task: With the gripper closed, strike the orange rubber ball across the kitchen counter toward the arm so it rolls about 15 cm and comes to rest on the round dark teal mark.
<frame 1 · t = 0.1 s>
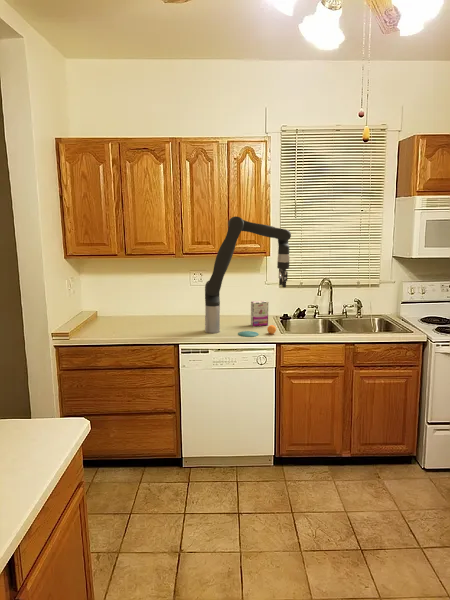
hand: (282, 286, 287), 29 cm above the countertop, tool pointing down, fingers open, 8 cm apart
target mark: (248, 334, 283), on the countertop
ball: (271, 329, 284), on the countertop
candy bar box: (259, 325, 305), on the countertop
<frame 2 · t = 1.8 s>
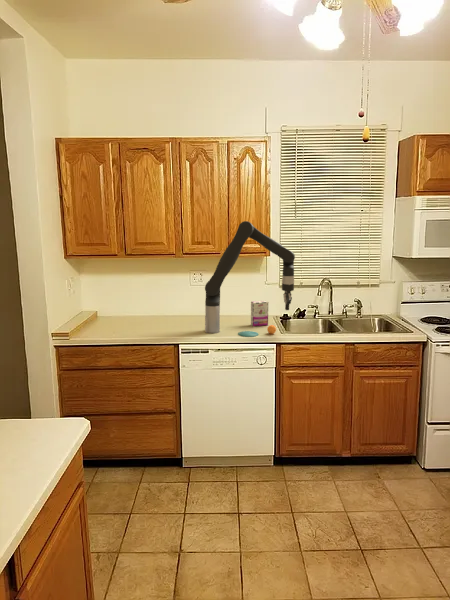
hand: (287, 309, 282), 15 cm above the countertop, tool pointing down, fingers closed
nothing on the countertop moved.
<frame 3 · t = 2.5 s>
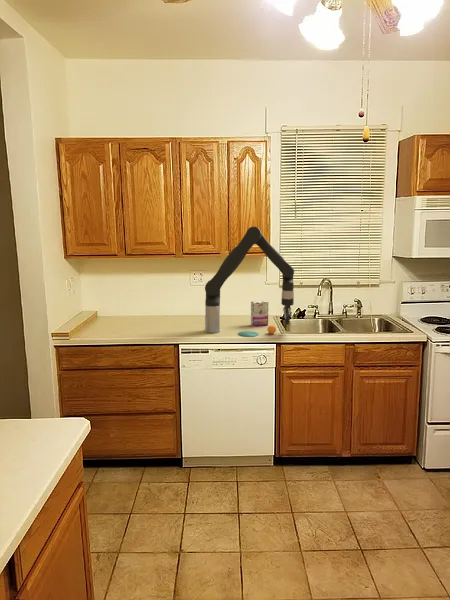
hand: (286, 324, 284), 6 cm above the countertop, tool pointing down, fingers closed
nothing on the countertop moved.
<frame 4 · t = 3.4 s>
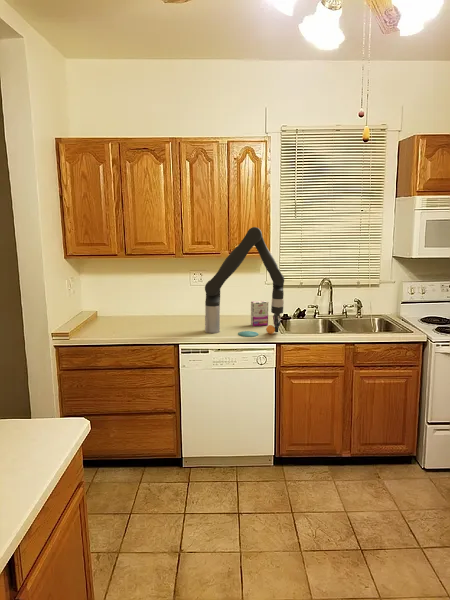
hand: (276, 332, 285), 1 cm above the countertop, tool pointing down, fingers closed
ball: (270, 329, 283), on the countertop, touching gripper
everything else where it was.
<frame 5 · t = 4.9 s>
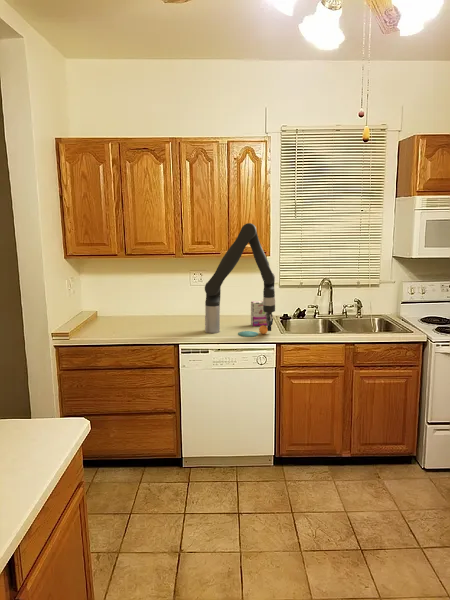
hand: (269, 330, 283), 2 cm above the countertop, tool pointing down, fingers closed
ball: (263, 329, 283), on the countertop, touching gripper
everything else where it was.
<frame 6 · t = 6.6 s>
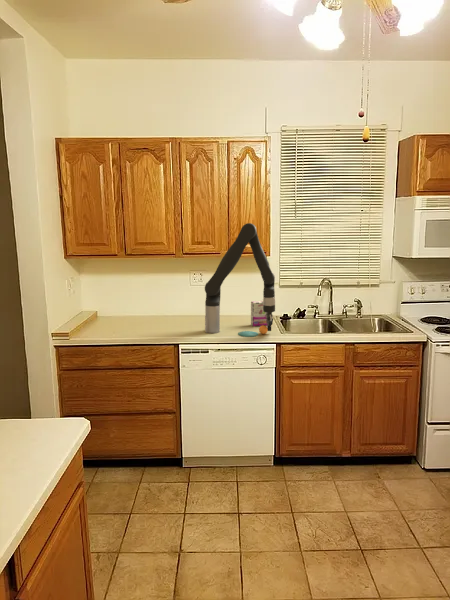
hand: (269, 330, 283), 2 cm above the countertop, tool pointing down, fingers closed
nothing on the countertop moved.
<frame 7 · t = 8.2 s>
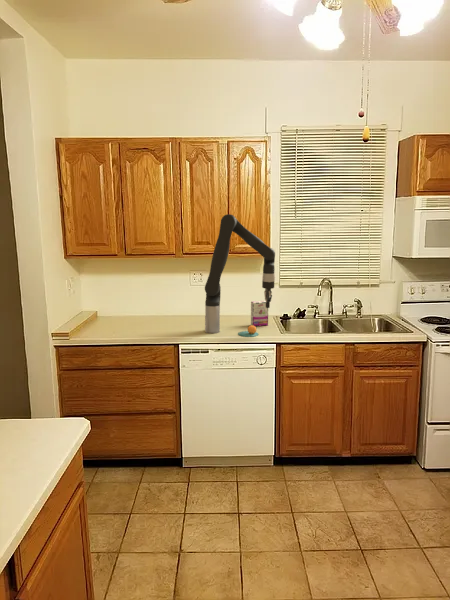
hand: (267, 307, 281), 17 cm above the countertop, tool pointing down, fingers closed
ball: (252, 329, 283), on the countertop
everything else where it was.
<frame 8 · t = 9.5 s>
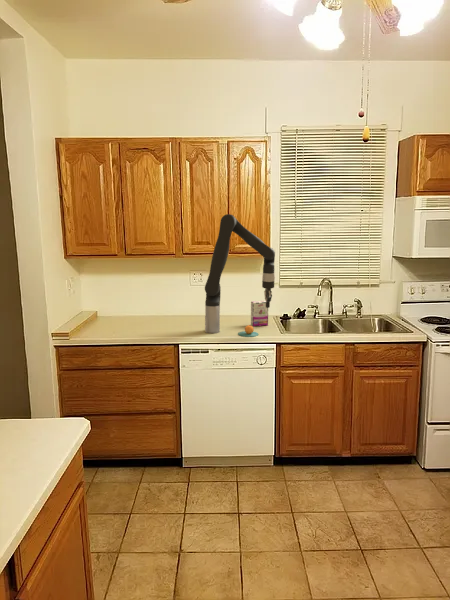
hand: (267, 307, 281), 17 cm above the countertop, tool pointing down, fingers closed
ball: (249, 329, 282), on the countertop
everything else where it was.
at the end: ball 0.8 cm from the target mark (horizontally); ball at rest at the end (0.0 cm/s); ball moved 14.4 cm from its start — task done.
